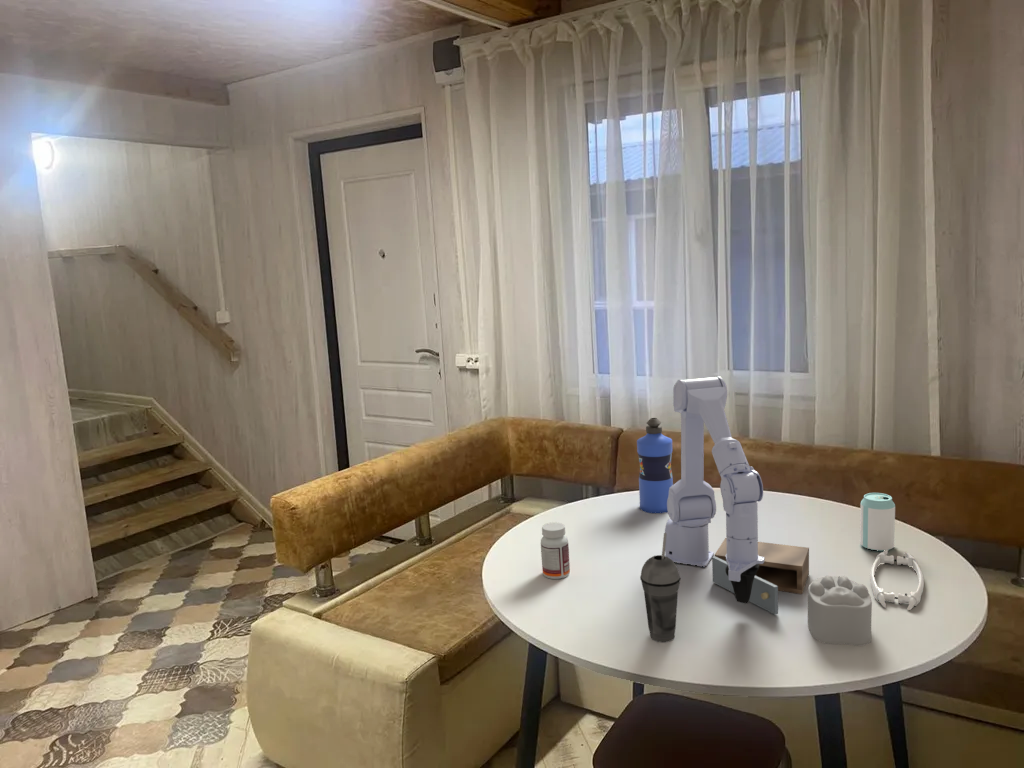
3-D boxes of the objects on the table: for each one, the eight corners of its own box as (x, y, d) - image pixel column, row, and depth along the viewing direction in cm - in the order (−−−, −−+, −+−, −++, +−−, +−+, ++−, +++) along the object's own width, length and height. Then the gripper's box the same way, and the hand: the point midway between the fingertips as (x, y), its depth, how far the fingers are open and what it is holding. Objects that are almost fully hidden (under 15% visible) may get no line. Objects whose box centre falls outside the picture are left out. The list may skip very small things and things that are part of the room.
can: (877, 538, 181) (878, 489, 179) (901, 549, 174) (902, 498, 172) (853, 544, 179) (853, 494, 176) (876, 555, 172) (877, 503, 170)
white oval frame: (921, 563, 168) (925, 614, 146) (871, 557, 172) (868, 607, 150) (921, 551, 167) (926, 601, 145) (871, 546, 171) (868, 594, 149)
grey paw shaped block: (812, 643, 138) (812, 597, 136) (803, 609, 150) (803, 567, 149) (875, 647, 135) (876, 600, 134) (861, 612, 148) (862, 569, 146)
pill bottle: (563, 566, 177) (560, 519, 175) (574, 576, 172) (571, 528, 170) (538, 571, 175) (535, 524, 173) (549, 582, 170) (546, 533, 168)
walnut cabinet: (715, 581, 164) (714, 554, 163) (725, 563, 173) (725, 537, 172) (802, 594, 156) (802, 566, 155) (808, 574, 165) (809, 547, 164)
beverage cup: (638, 628, 147) (634, 528, 143) (675, 624, 148) (672, 524, 144) (648, 647, 140) (644, 543, 136) (687, 643, 140) (684, 539, 137)
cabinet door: (709, 583, 163) (708, 558, 162) (715, 581, 164) (715, 556, 163) (771, 616, 148) (770, 588, 147) (778, 613, 148) (777, 586, 147)
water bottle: (639, 513, 207) (635, 423, 203) (639, 502, 216) (636, 415, 212) (674, 513, 206) (672, 422, 201) (673, 501, 215) (670, 414, 210)
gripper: (756, 551, 138) (756, 621, 141) (770, 523, 151) (771, 588, 153) (716, 546, 142) (717, 615, 144) (734, 519, 154) (735, 583, 156)
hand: (742, 601), depth 149 cm, fingers closed
